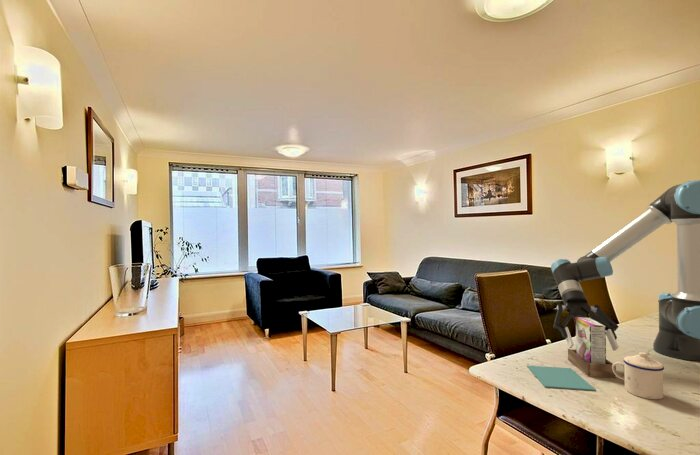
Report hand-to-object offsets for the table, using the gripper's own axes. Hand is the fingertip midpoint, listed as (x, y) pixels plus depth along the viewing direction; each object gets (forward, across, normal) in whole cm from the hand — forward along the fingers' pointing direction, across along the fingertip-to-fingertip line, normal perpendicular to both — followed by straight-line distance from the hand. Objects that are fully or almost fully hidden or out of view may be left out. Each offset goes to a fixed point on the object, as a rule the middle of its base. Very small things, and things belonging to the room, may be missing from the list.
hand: (593, 347), depth 116 cm
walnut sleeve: (+4, 0, -7) cm, 8 cm away
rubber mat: (+11, +14, 0) cm, 18 cm away
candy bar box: (+4, 0, -7) cm, 8 cm away
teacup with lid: (+15, -5, +4) cm, 17 cm away
